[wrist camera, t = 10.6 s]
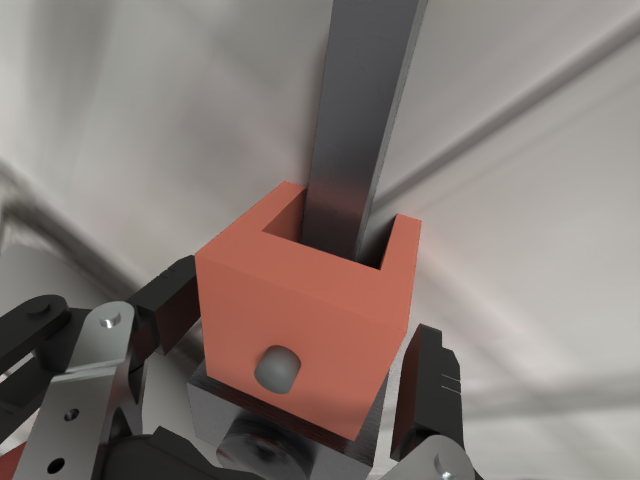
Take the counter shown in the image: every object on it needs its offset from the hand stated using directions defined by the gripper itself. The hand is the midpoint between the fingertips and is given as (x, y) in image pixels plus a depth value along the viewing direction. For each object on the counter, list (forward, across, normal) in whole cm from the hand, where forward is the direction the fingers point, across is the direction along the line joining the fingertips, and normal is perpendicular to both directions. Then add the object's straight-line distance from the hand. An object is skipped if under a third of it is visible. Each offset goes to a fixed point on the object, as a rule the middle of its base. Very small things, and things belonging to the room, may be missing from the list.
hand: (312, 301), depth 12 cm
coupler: (+3, 0, 0) cm, 3 cm away
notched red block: (+3, 0, 0) cm, 3 cm away
